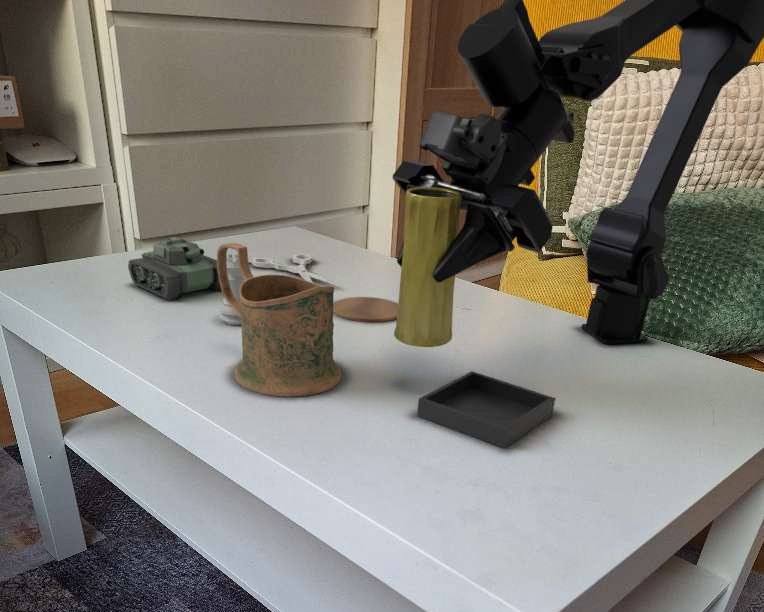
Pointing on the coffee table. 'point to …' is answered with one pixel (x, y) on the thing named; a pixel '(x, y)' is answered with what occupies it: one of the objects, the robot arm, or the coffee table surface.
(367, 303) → the coaster
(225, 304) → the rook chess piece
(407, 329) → the vase
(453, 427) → the black tray
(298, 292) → the mug
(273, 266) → the scissors
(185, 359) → the coffee table surface
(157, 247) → the toy tank
